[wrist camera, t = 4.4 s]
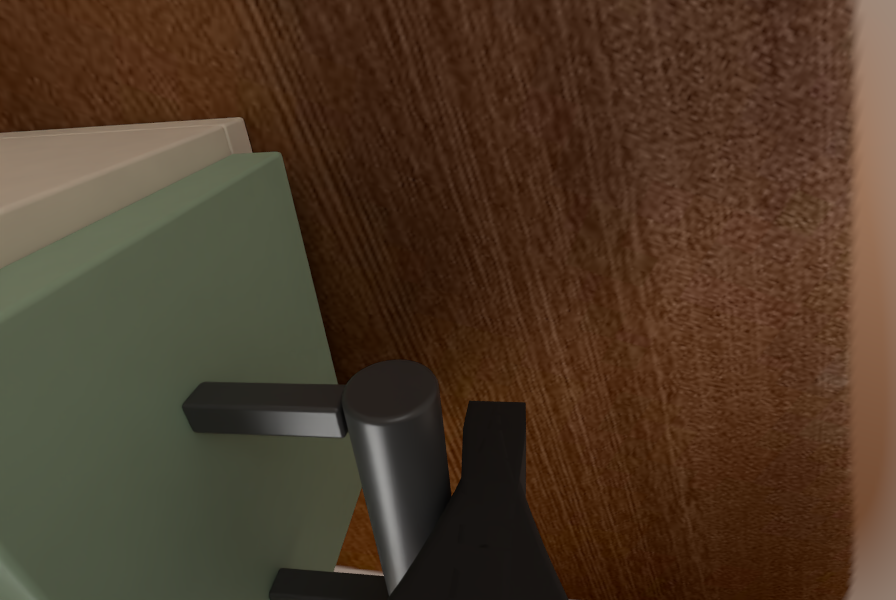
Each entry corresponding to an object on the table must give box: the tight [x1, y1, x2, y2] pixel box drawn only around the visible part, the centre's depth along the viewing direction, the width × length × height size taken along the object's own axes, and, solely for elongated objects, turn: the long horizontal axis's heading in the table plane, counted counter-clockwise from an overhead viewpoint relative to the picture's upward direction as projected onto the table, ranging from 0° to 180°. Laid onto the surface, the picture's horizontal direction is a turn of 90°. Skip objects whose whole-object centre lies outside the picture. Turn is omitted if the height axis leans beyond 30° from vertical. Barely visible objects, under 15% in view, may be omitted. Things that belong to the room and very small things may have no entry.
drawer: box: [0, 152, 451, 600], centre depth 10 cm, size 16×11×8 cm, turn 95°
